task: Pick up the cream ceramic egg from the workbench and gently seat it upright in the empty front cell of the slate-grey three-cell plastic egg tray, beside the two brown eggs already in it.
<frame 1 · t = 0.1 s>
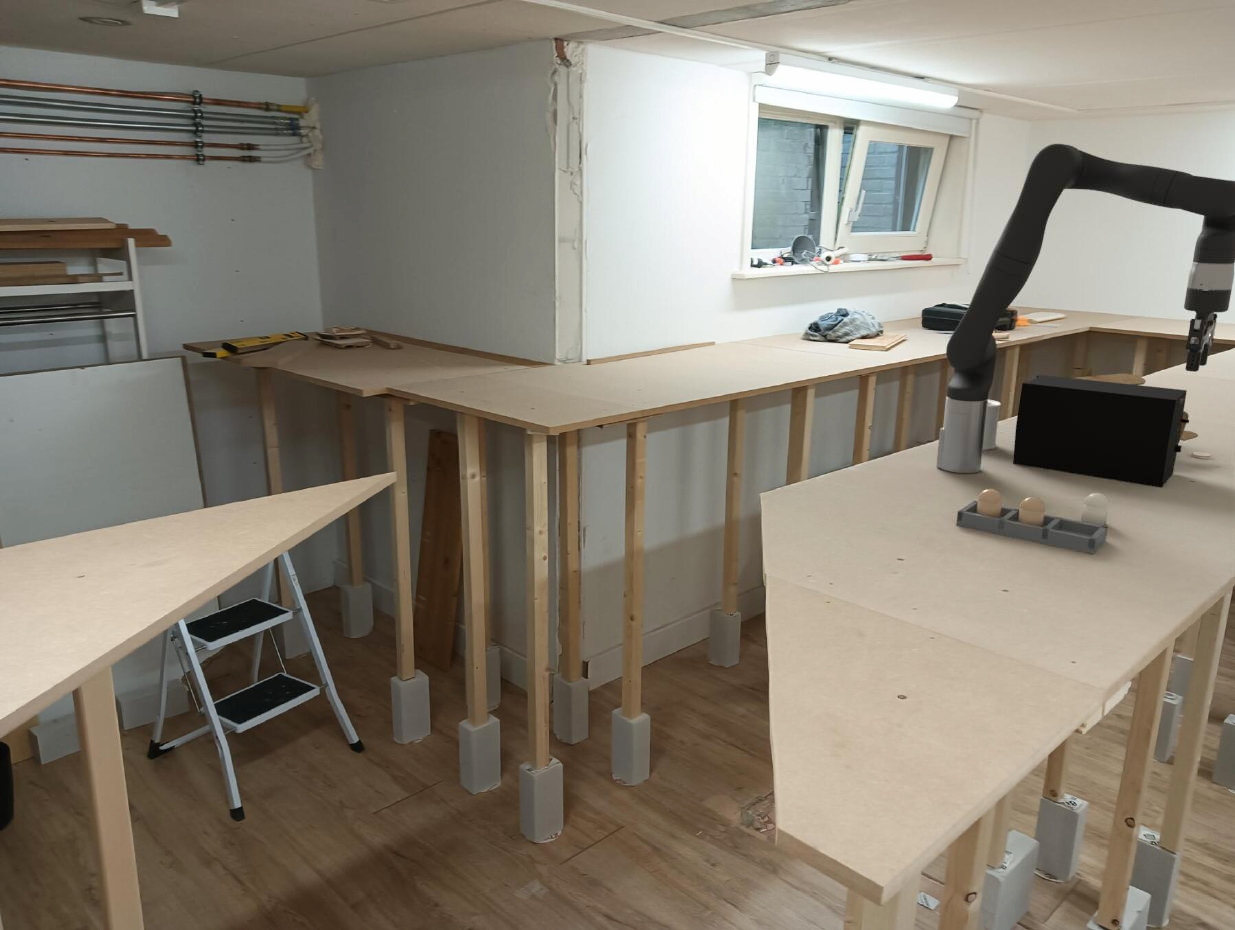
hand: (1195, 368, 189), 29 cm above the table, fingers open, 8 cm apart
white tall cylinder: (976, 445, 247), on the table
brown egg back: (987, 519, 186), point 1 cm above the table, touching egg tray
cream egg: (1093, 523, 187), on the table
model airplane: (1120, 449, 243), on the table
uninterruptible power supply: (1094, 470, 225), on the table
brown egg middle: (1029, 527, 182), point 1 cm above the table, touching egg tray
egg tray: (1029, 532, 182), on the table
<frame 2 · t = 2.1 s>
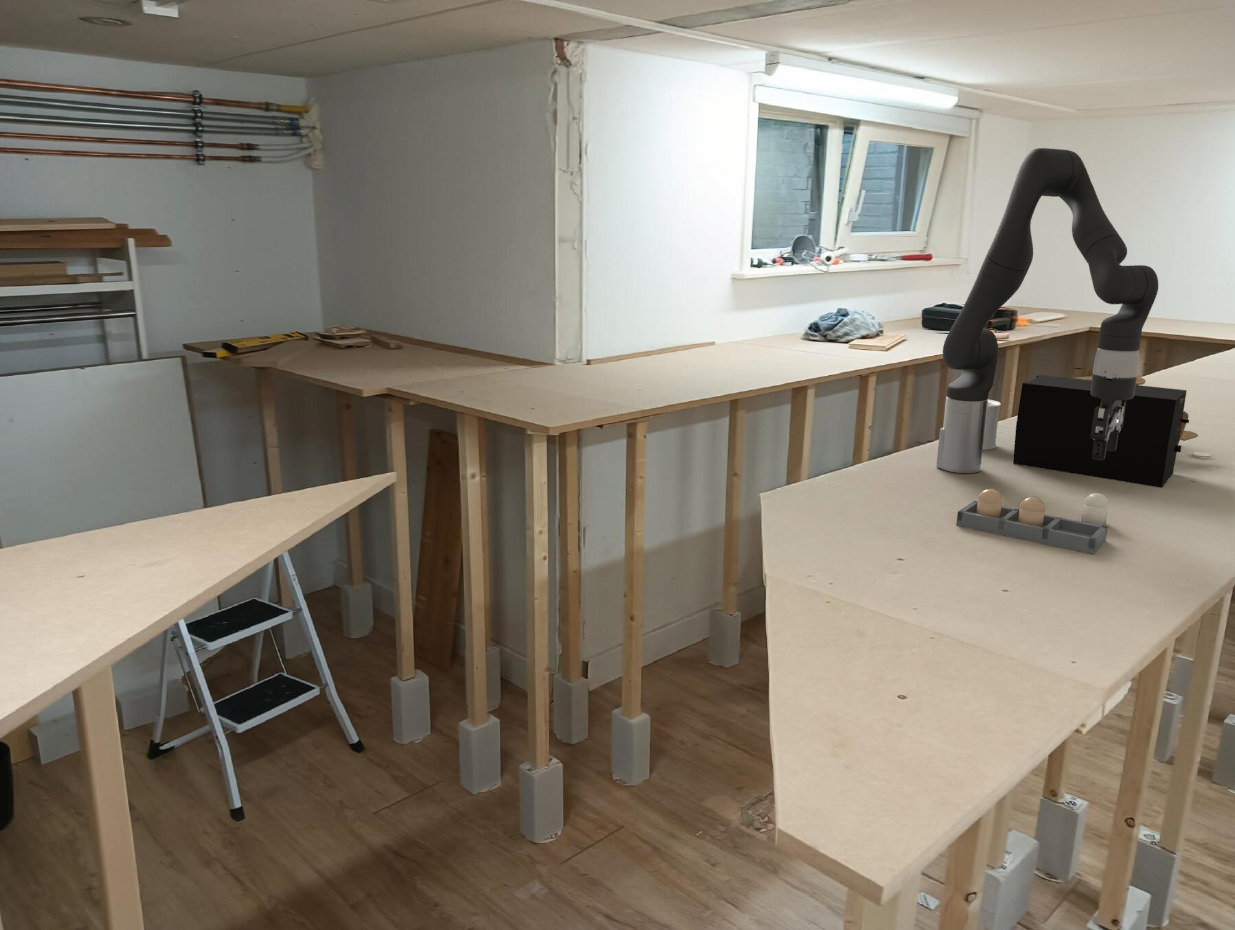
hand: (1103, 455, 183), 14 cm above the table, fingers open, 8 cm apart
nothing on the table moved.
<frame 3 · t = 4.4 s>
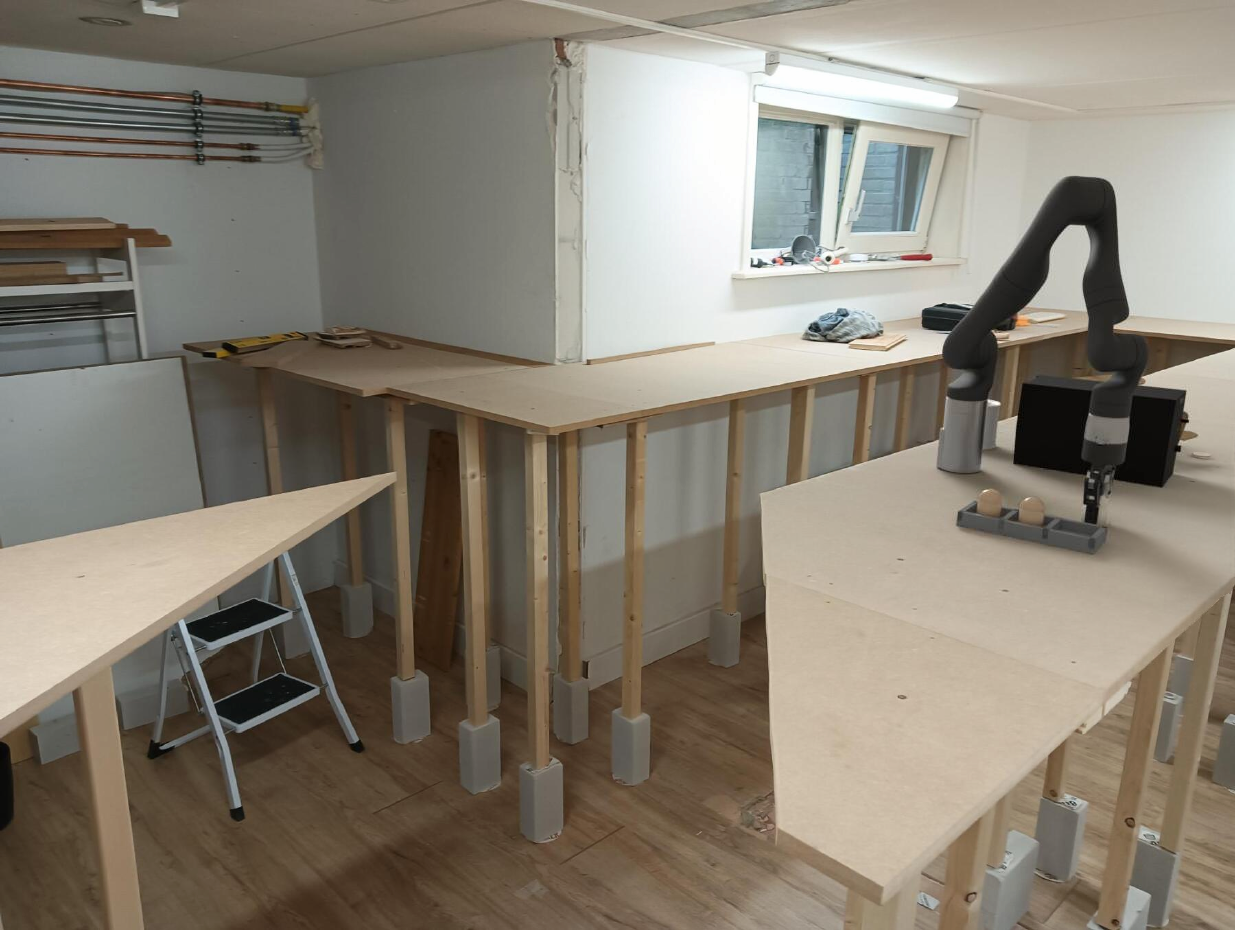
hand: (1093, 520, 187), 1 cm above the table, fingers closed on cream egg, 4 cm apart
cream egg: (1093, 523, 187), on the table, touching gripper
everything else where it was.
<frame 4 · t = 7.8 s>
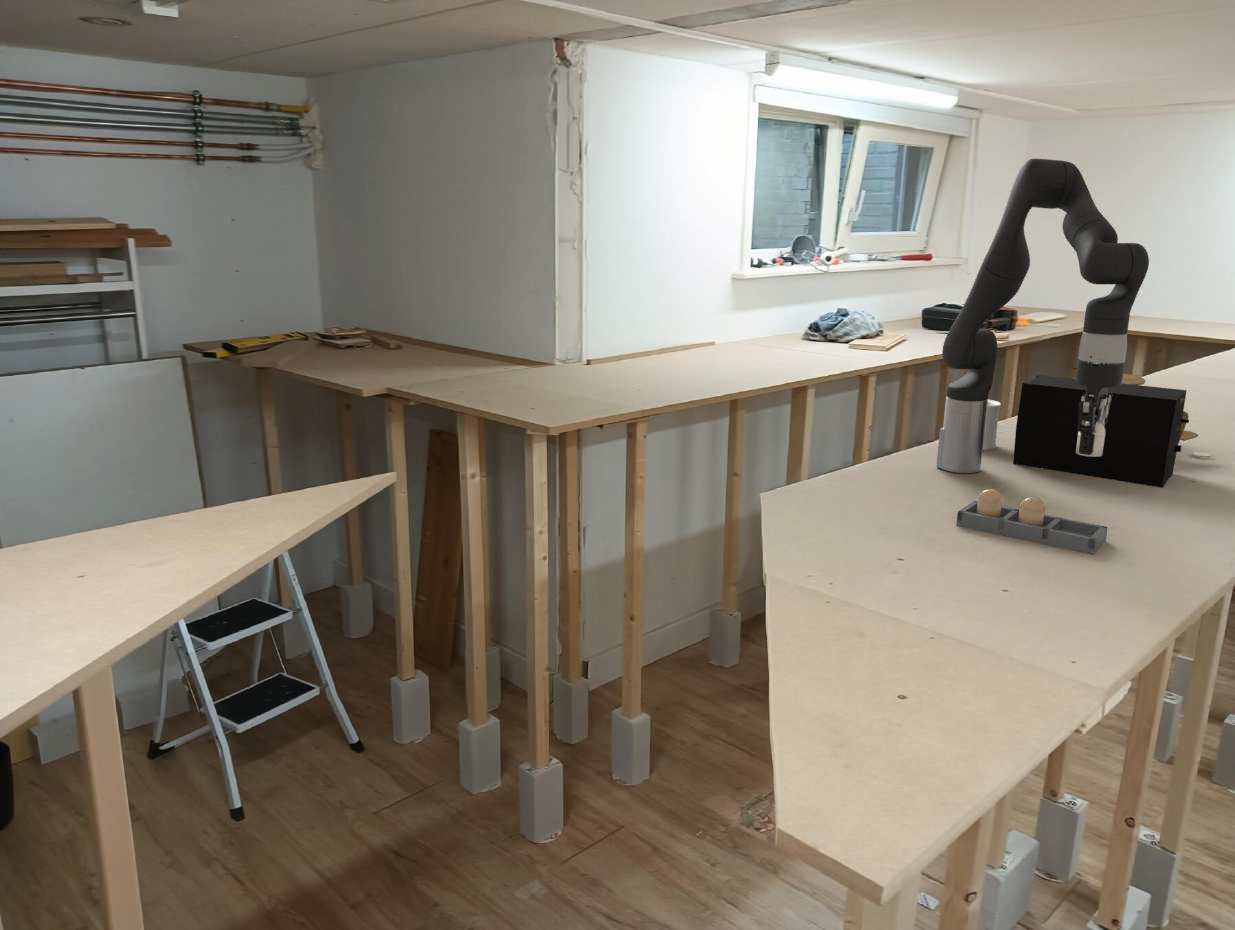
hand: (1089, 450, 172), 18 cm above the table, fingers closed on cream egg, 4 cm apart
cream egg: (1088, 453, 172), point 17 cm above the table, touching gripper
everything else where it was.
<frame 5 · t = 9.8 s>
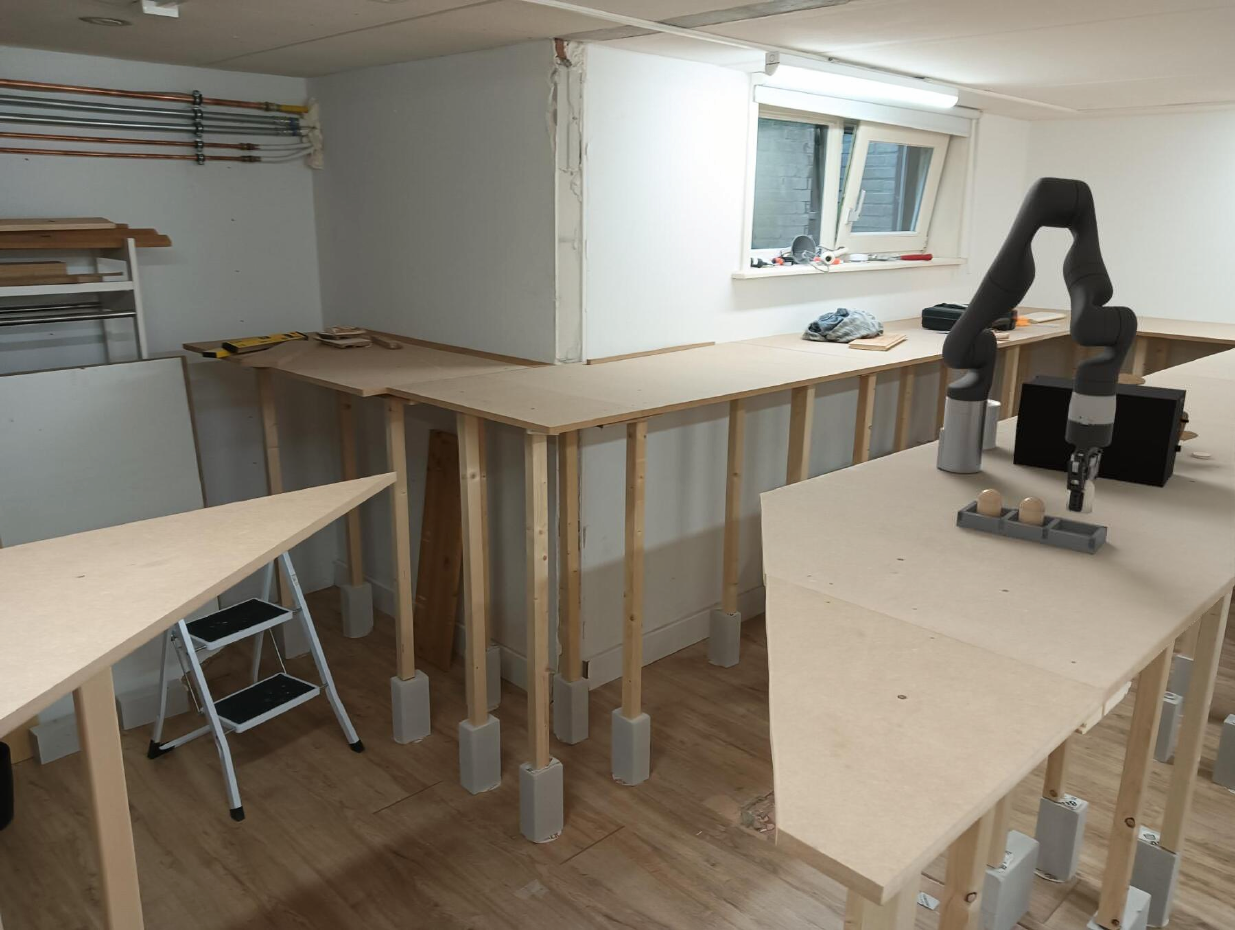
hand: (1078, 507, 175), 7 cm above the table, fingers closed on cream egg, 4 cm apart
cream egg: (1078, 510, 175), point 6 cm above the table, touching gripper
everything else where it was.
when the fingers open (3 cm above the table, at t = 11.4 s): cream egg drops 2 cm, resting on egg tray.
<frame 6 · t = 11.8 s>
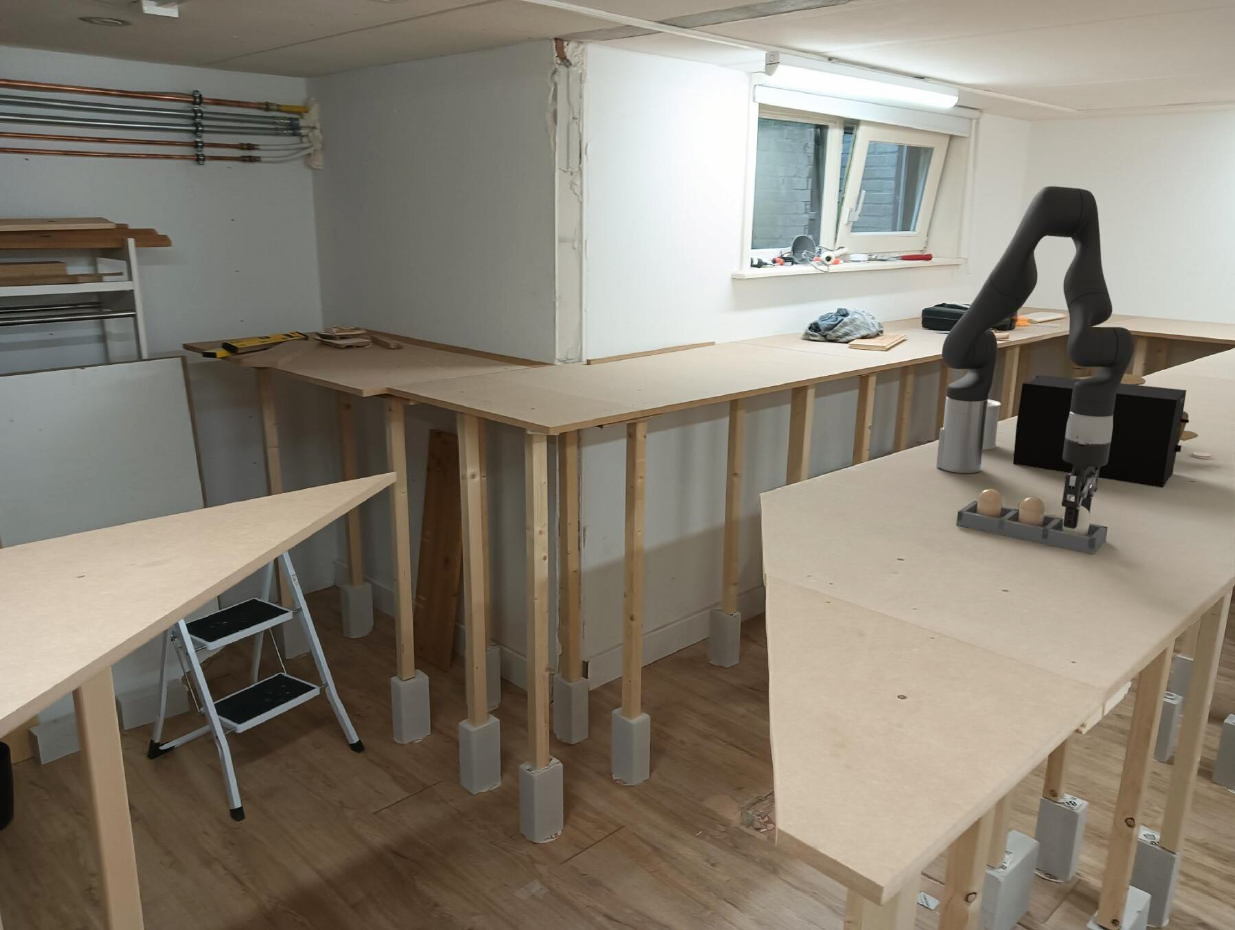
hand: (1076, 521, 176), 4 cm above the table, fingers open, 8 cm apart
cream egg: (1074, 537, 177), point 1 cm above the table, touching egg tray
everything else where it was.
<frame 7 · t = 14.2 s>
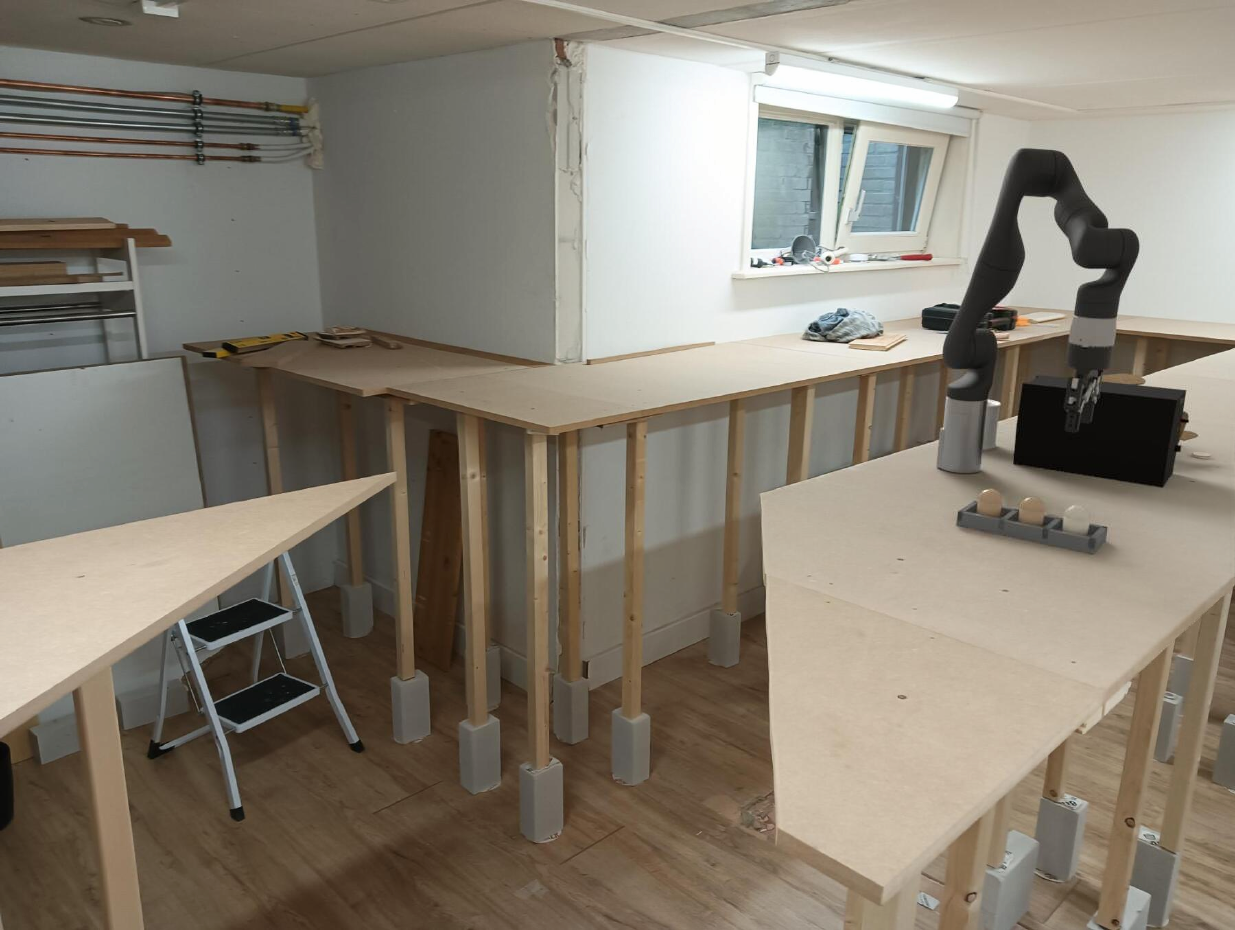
hand: (1078, 427, 176), 21 cm above the table, fingers open, 8 cm apart
nothing on the table moved.
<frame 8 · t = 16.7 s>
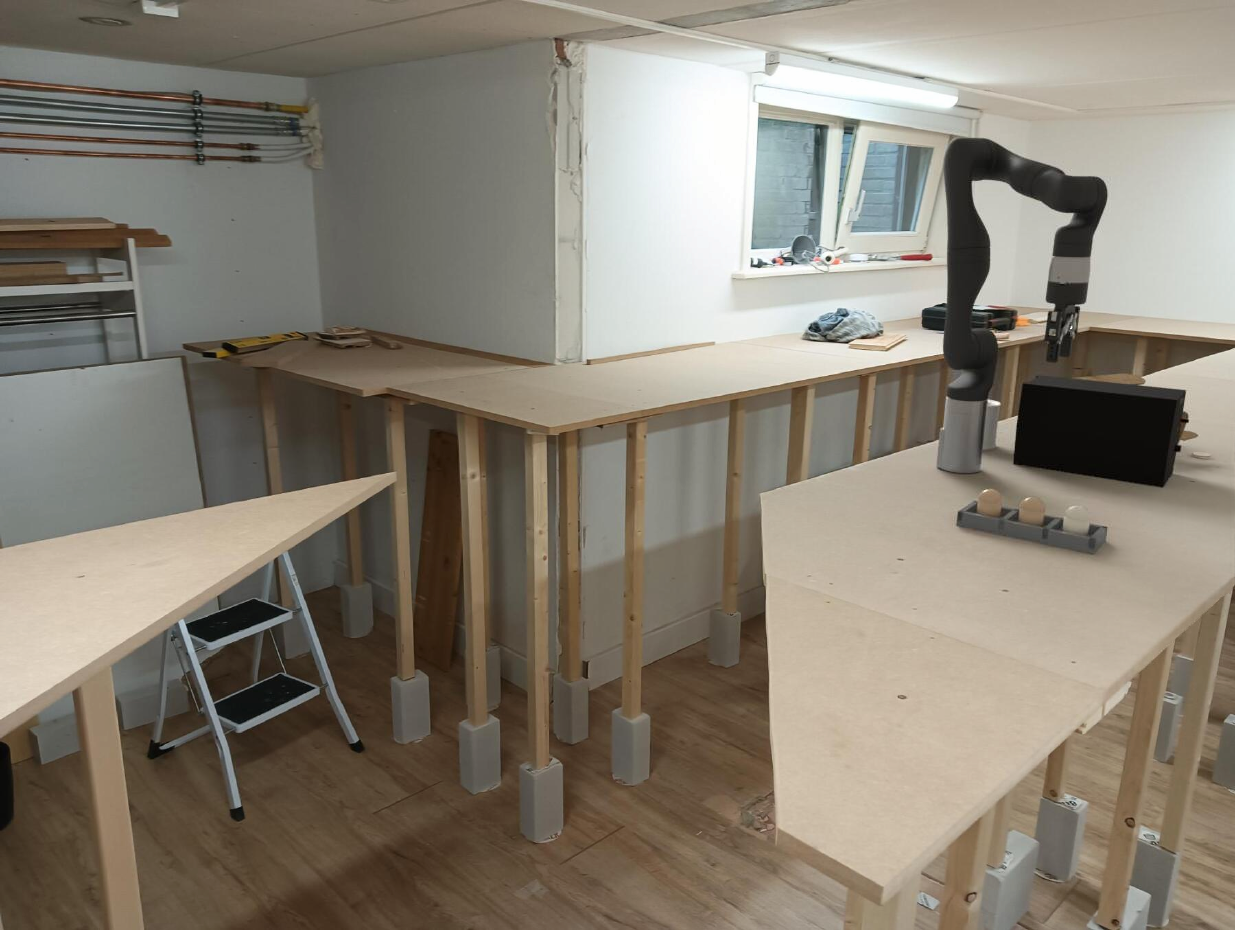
hand: (1058, 359, 194), 30 cm above the table, fingers open, 8 cm apart
nothing on the table moved.
at the end: cream egg 0.0 cm from the target spot on the egg tray, point 1.0 cm above the egg tray's base; cream egg tilted 1°; the gripper is holding nothing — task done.
